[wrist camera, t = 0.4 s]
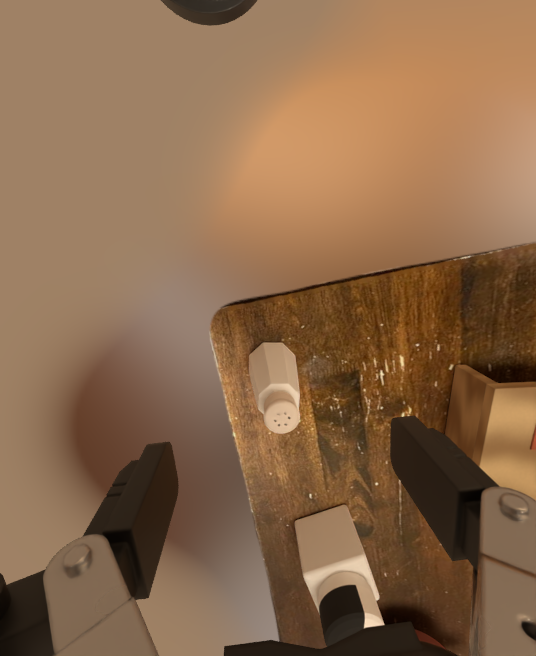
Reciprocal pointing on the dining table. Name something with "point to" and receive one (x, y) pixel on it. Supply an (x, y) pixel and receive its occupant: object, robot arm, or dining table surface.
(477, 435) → the shelf
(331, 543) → the medicine bottle
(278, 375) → the pepper shaker
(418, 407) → the dining table surface
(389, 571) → the dining table surface
